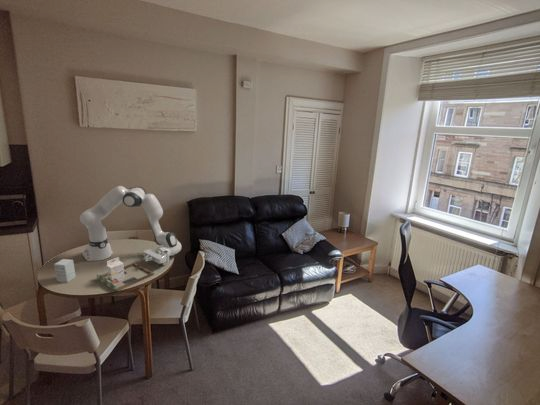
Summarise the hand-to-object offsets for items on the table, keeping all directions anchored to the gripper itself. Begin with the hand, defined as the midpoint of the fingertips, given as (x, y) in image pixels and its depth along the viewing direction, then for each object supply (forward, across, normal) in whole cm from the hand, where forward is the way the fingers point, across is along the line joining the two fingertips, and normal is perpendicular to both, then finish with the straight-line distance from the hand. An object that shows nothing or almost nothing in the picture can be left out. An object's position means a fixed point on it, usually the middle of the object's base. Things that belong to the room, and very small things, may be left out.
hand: (144, 259), depth 202 cm
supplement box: (+39, -26, +8) cm, 47 cm away
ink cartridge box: (+20, 0, +7) cm, 21 cm away
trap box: (+14, 0, +7) cm, 16 cm away
